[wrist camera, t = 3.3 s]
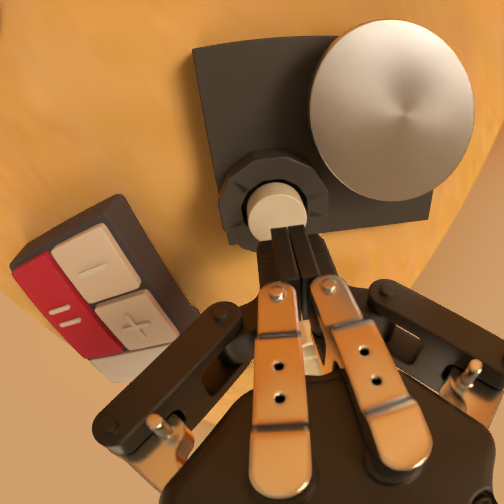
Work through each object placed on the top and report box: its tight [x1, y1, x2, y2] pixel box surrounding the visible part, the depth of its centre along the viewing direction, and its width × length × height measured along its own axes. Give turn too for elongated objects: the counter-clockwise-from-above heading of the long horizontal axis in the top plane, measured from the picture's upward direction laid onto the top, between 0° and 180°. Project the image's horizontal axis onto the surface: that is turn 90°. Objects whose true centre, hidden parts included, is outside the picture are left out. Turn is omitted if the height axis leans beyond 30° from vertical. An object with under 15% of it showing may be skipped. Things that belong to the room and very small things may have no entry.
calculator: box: [10, 194, 201, 383], centre depth 22 cm, size 11×4×15 cm
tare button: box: [247, 182, 307, 241], centre depth 16 cm, size 3×3×2 cm
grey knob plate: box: [192, 36, 433, 252], centre depth 16 cm, size 14×12×3 cm
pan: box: [307, 19, 474, 201], centre depth 13 cm, size 10×10×1 cm
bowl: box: [299, 314, 322, 376], centre depth 25 cm, size 6×6×4 cm
